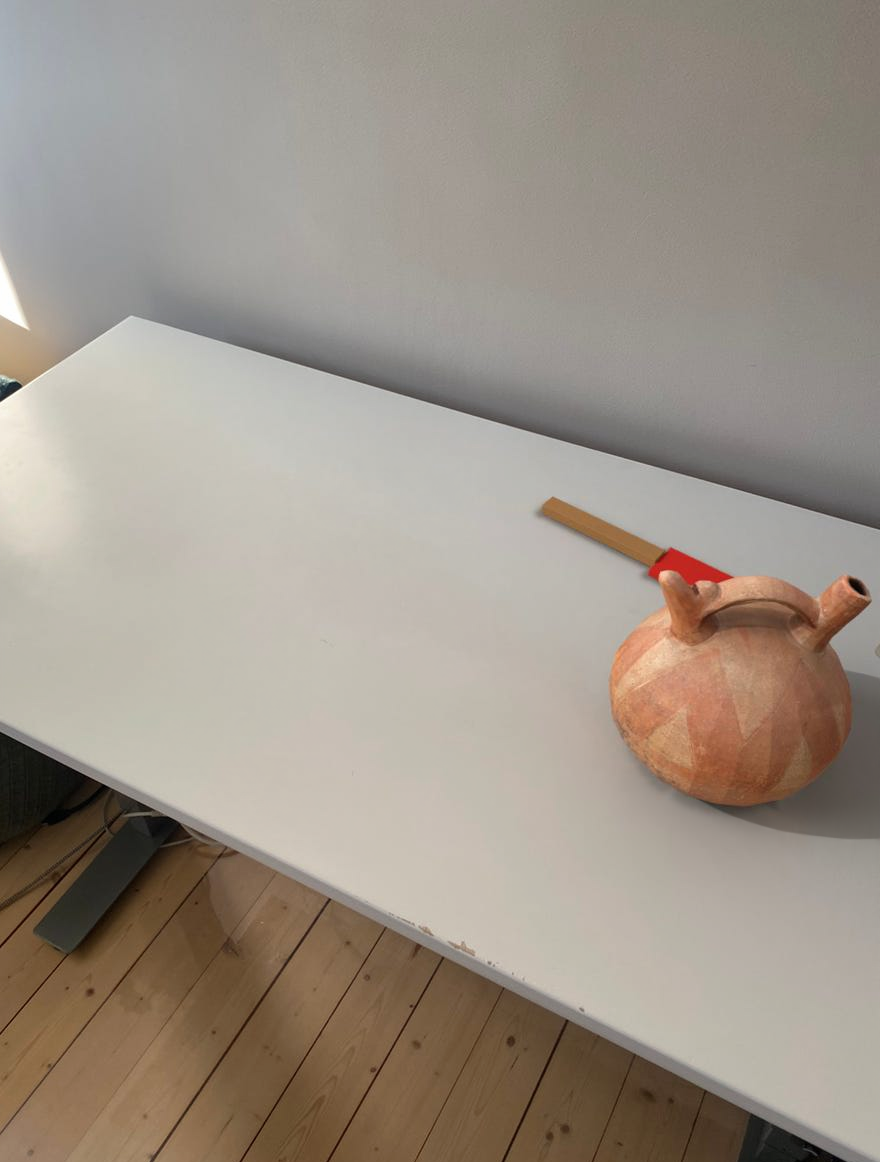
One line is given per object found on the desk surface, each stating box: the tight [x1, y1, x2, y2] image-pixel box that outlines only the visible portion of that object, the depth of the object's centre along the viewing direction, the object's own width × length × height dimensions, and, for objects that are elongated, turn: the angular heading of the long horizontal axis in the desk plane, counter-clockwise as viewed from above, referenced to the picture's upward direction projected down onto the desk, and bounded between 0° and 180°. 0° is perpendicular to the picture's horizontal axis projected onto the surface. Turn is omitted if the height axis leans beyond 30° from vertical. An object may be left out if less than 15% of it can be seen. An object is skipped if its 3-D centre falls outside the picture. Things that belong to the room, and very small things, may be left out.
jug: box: [608, 570, 873, 807], centre depth 73 cm, size 18×18×20 cm
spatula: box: [541, 496, 736, 586], centre depth 97 cm, size 4×22×1 cm, turn 49°
